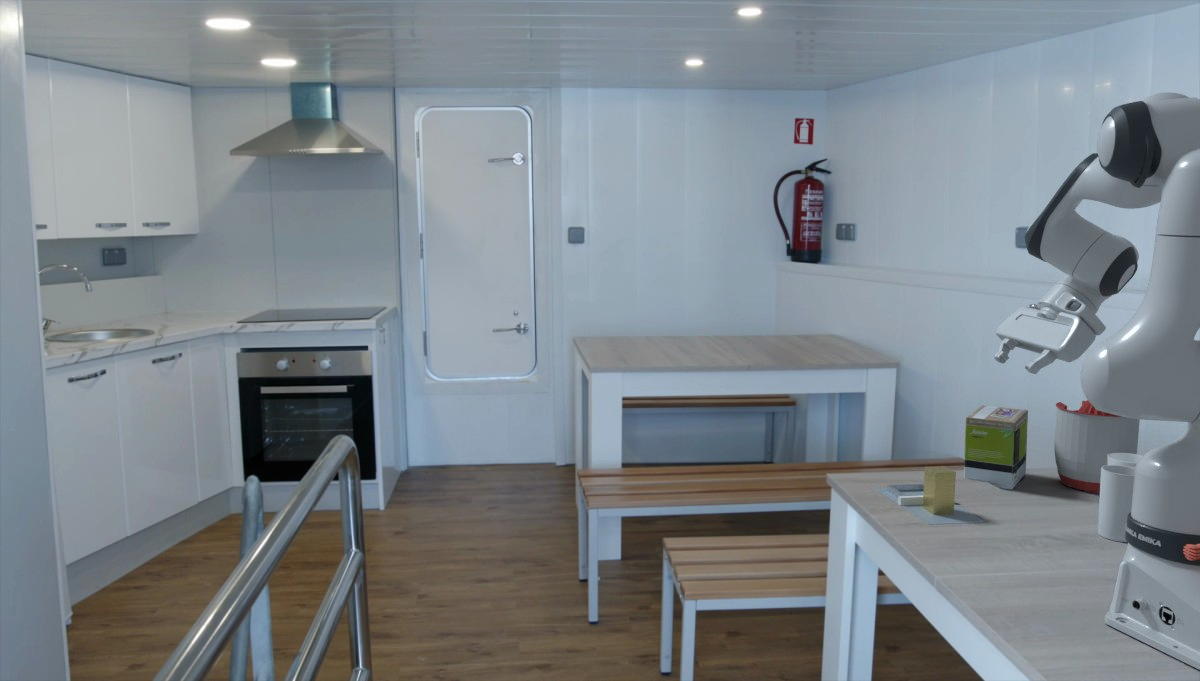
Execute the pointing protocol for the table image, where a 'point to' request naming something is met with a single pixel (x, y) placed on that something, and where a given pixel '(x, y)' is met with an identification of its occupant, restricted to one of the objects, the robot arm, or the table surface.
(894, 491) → the frame
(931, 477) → the block
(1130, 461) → the white cup
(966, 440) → the tea box
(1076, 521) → the table surface
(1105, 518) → the mug
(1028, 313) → the robot arm
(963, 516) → the plate
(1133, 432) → the citrus juicer
